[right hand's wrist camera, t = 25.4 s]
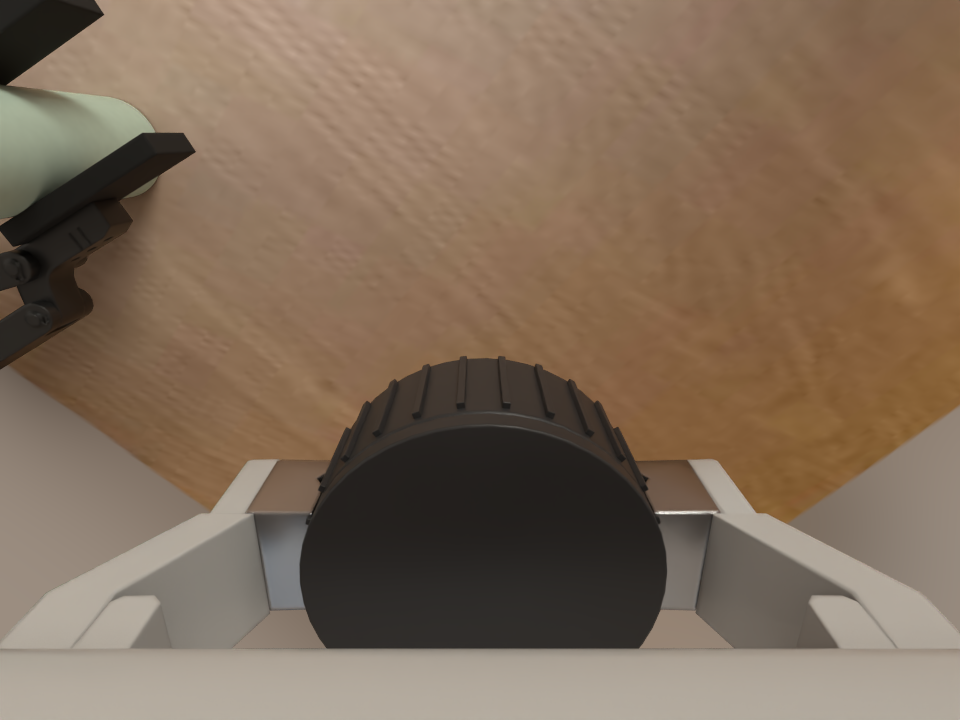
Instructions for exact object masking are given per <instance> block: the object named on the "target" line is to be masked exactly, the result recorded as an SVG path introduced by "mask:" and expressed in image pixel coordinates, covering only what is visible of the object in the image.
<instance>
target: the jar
mask: <svg viewBox="0 0 960 720" xmlns="http://www.w3.org/2000/svg"><path fill="white" fill-rule="evenodd" d="M141 133H155V130H154V129H153V127H152V126H151V124H150V123H149V121H148V120H147V119H146V118H145V117H144V116H143V115H142V114H141V113H140V112H139V111H138V110H137V109H136V108H134V107H133V106H131V105H130V104H128V103H126V102H124V101H122V100H119V99H116V98H112V97H106V96H97V95H88V94H79V93H70V92H61V91H52V90H43V89H34V88H25V87H16V86H7V85H0V219H3V218H9V217H15V216H16V215H18V214H19V213H21V212H22V211H24V210H25V209H27V208H28V207H30V206H31V205H33V204H34V203H36V202H37V201H39V200H40V199H42V198H43V197H45V196H47V195H48V194H50V193H51V192H53V191H54V190H56V189H57V188H59V187H60V186H62V185H63V184H65V183H66V182H68V181H69V180H71V179H72V178H74V177H76V176H77V175H79V174H80V173H82V172H83V171H85V170H86V169H88V168H89V167H91V166H92V165H94V164H95V163H97V162H98V161H100V160H101V159H103V158H104V157H106V156H108V155H109V154H111V153H112V152H114V151H115V150H117V149H118V148H120V147H121V146H123V145H124V144H126V143H127V142H129V141H130V140H132V139H133V138H135V137H137V136H138V135H140V134H141ZM157 178H158V176H157V177H156V178H154V179H152V180H151V181H149V182H148V183H146V184H145V185H143V186H141V187H140V188H138V189H137V190H135V191H134V192H132V193H130V194H129V195H127V196H126V197H124V198H129V197H134V196H137V195H140V194H142V193H144V192H146V191H147V190H148V189H149V188H150V187H151V186H152V185H153V184H154V183H155V181H156V180H157Z"/></svg>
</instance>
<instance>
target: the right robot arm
mask: <svg viewBox="0 0 960 720" xmlns="http://www.w3.org/2000/svg"><path fill="white" fill-rule="evenodd" d="M635 462H636V464H637V466H638V468H639V470H640V472H641V474H642V476H643V478H644V481H645V483H646V485H647V487H648V489H649V490H647V491H645V492H644V494H645V496H646V498H647V501H648V502H649V505H650V507H651V509H652V511H653V513H654V516H655V518H656V517H659V518H660V522H661V523H660V524H658V525H659V528H660V530H661V532H662V536H663V541H664V545H665V549H666V558H667V580H666V590H665V595H664V598H663V602H662V606H661V610H696V614H697V615H699V616H700V617H701V618H702V619H703V620H704V621H705V622H706V623H707V624H708V625H710V626H711V627H712V628H713V629H714V630H715V631H716V632H717V633H718V634H719V635H720V636H722V637H723V638H724V639H725V640H726V641H727V642H728V643H729V644H730V645H731V646H733V647H734V648H735V649H232V648H233V647H234V646H235V645H236V644H237V643H238V642H239V641H240V640H241V639H243V638H244V637H245V636H246V635H247V634H248V633H249V632H250V631H251V630H252V629H253V628H255V627H256V626H257V625H258V624H259V623H260V622H261V621H262V620H263V619H264V618H265V617H267V616H268V615H269V614H270V610H305V606H304V603H303V597H302V592H301V587H300V569H299V563H300V556H301V549H302V543H303V540H304V537H305V534H306V531H307V528H308V525H306V524H305V523H306V519H307V517H310V518H312V515H313V513H314V511H315V509H316V506H317V504H318V502H319V499H320V497H321V495H322V492H320V491H318V488H319V486H320V484H321V481H322V479H323V477H324V475H325V473H326V470H327V468H328V466H329V464H330V460H279V459H257V460H250V461H247V462H246V464H245V465H244V466H243V468H242V469H241V471H240V472H239V473H238V475H237V476H236V478H235V479H234V480H233V482H232V483H231V484H230V486H229V487H228V489H227V490H226V491H225V493H224V494H223V495H222V497H221V498H220V500H219V501H218V502H217V504H216V505H215V507H214V508H213V509H212V511H211V512H210V513H206V514H198V515H196V516H194V517H193V518H191V519H189V520H187V521H185V522H183V523H181V524H179V525H177V526H175V527H173V528H171V529H169V530H167V531H165V532H163V533H161V534H160V535H158V536H156V537H154V538H152V539H150V540H148V541H146V542H144V543H142V544H140V545H138V546H136V547H134V548H132V549H130V550H128V551H126V552H124V553H123V554H121V555H119V556H117V557H115V558H113V559H111V560H109V561H107V562H105V563H103V564H101V565H99V566H97V567H95V568H93V569H91V570H89V571H87V572H86V573H84V574H82V575H80V576H78V577H76V578H74V579H72V580H70V581H68V582H66V583H64V584H62V585H60V586H58V587H56V588H54V589H52V590H51V591H49V592H47V593H45V594H44V595H43V596H42V598H41V599H40V600H39V601H38V602H37V603H36V604H35V605H34V606H33V607H32V608H31V609H30V610H29V611H28V612H27V613H26V614H25V615H24V616H23V617H22V619H21V620H20V621H19V622H18V623H17V624H16V625H15V626H14V627H13V628H12V629H11V630H10V631H9V632H8V633H7V634H6V635H5V636H4V637H3V638H2V639H1V641H0V720H960V632H959V631H958V629H957V628H956V627H955V626H954V625H953V624H952V623H951V622H950V621H949V620H948V619H947V618H946V617H945V616H944V615H943V614H942V613H941V612H940V611H939V610H938V609H937V608H936V607H935V606H934V605H933V604H932V603H931V602H930V600H929V599H928V598H927V597H926V596H925V595H924V594H923V593H921V592H919V591H917V590H915V589H913V588H911V587H909V586H907V585H905V584H903V583H901V582H899V581H897V580H895V579H893V578H891V577H889V576H887V575H885V574H883V573H881V572H879V571H877V570H875V569H874V568H872V567H870V566H868V565H866V564H864V563H862V562H860V561H858V560H856V559H854V558H852V557H850V556H848V555H846V554H844V553H842V552H840V551H838V550H836V549H834V548H832V547H831V546H829V545H826V544H825V543H823V542H821V541H819V540H817V539H815V538H813V537H811V536H809V535H807V534H805V533H803V532H801V531H799V530H797V529H795V528H793V527H791V526H789V525H787V524H785V523H784V522H782V521H780V520H778V519H776V518H774V517H772V516H770V515H768V514H761V513H756V512H755V511H754V509H753V508H752V507H751V505H750V504H749V503H748V501H747V500H746V499H745V497H744V496H743V494H742V493H741V492H740V490H739V489H738V488H737V486H736V485H735V484H734V482H733V481H732V480H731V478H730V477H729V476H728V474H727V473H726V472H725V470H724V469H723V468H722V466H721V465H720V464H719V462H718V461H716V460H714V459H697V460H660V461H635Z"/></svg>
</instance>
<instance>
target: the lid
mask: <svg viewBox="0 0 960 720" xmlns="http://www.w3.org/2000/svg"><path fill="white" fill-rule="evenodd" d="M647 490H649V489H648V487H647V485H646V483H645V481H644V478H643V476H642V474H641V472H640V470H639V468H638V466H637V464H636V462H635V460H634V458H633V456H632V454H631V452H630V450H629V448H628V446H627V443H626V441H625V439H624V437H623V435H622V433H621V431H620V429H619V427H616V428H614V429H613V427H612V425H611V424H610V422H609V420H608V418H607V415H606V413H605V411H604V409H603V407H602V405H601V403H600V402H599V401H596V402H595V403H594V402H593V401H592V400H591V399H589V398H588V397H587V396H586V395H585V394H584V393H583V392H582V391H580V390H579V389H577V386H576V384H575V382H574V381H573V380H571V379H569V380H568V382H567V381H566V380H564V379H562V378H560V377H558V376H556V375H554V374H552V373H550V372H548V371H545V370H543V367H542V365H539V364H536V365H535V367H534V366H531V365H528V364H524V363H519V362H514V361H510V360H505V357H503V356H499V357H498V359H489V358H483V359H467V356H463V357H460V360H457V361H451V362H445V363H442V364H438V365H435V366H431V367H430V365H429V364H427V365H424V366H423V368H422V370H420V371H418V372H416V373H413V374H411V375H409V376H407V377H405V378H403V379H402V380H400V381H398V382H397V381H396V380H395V379H394V380H393V381H391V382H390V384H389V387H388V389H386V390H385V391H384V392H383V393H381V394H380V395H379V396H378V397H376V398H375V399H374V400H373V401H372V402H371V403H369V402H368V401H366V402H365V403H364V404H363V407H362V409H361V411H360V414H359V416H358V418H357V420H356V422H355V423H354V425H353V426H352V428H351V429H349V428H347V427H346V429H345V431H344V433H343V435H342V437H341V439H340V442H339V444H338V446H337V448H336V450H335V453H334V455H333V457H332V459H331V461H330V464H329V466H328V468H327V470H326V473H325V475H324V477H323V479H322V481H321V484H320V486H319V488H318V491H320V492H322V495H321V497H320V499H319V502H318V504H317V506H316V509H315V511H314V513H313V515H312V518H310V517H307V519H306V523H305V524H306V525H308V528H307V531H306V534H305V537H304V540H303V543H302V549H301V556H300V563H299V569H300V587H301V592H302V597H303V603H304V606H305V609H306V611H307V614H308V617H309V620H310V622H311V624H312V626H313V628H314V630H315V631H316V633H317V635H318V637H319V639H320V640H321V641H322V643H323V644H324V645H325V647H326V648H327V649H639V648H640V646H641V645H642V644H643V642H644V641H645V639H646V637H647V636H648V634H649V633H650V631H651V630H652V628H653V626H654V623H655V621H656V619H657V617H658V614H659V612H660V610H661V606H662V602H663V598H664V595H665V590H666V580H667V558H666V549H665V545H664V541H663V536H662V532H661V530H660V528H659V525H658V524H660V523H661V522H660V518H659V517H656V518H655V516H654V513H653V511H652V509H651V507H650V505H649V502H648V501H647V498H646V496H645V494H644V492H645V491H647Z"/></svg>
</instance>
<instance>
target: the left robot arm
mask: <svg viewBox="0 0 960 720" xmlns="http://www.w3.org/2000/svg"><path fill="white" fill-rule="evenodd" d="M103 15H104V14H103V12H102V11H101V9H100V8H99V6H98V5H97V3H96V2H95V0H0V85H7V84H8V83H10V82H11V81H12V80H14V79H15V78H17V77H18V76H19V75H21V74H22V73H24V72H25V71H26V70H28V69H29V68H31V67H32V66H33V65H35V64H36V63H38V62H39V61H40V60H42V59H43V58H45V57H46V56H47V55H49V54H50V53H52V52H53V51H54V50H56V49H57V48H58V47H60V46H61V45H63V44H64V43H65V42H67V41H68V40H70V39H71V38H72V37H74V36H75V35H77V34H78V33H79V32H81V31H82V30H84V29H85V28H86V27H88V26H89V25H91V24H92V23H93V22H95V21H96V20H98V19H99V18H100V17H102V16H103ZM195 152H196V151H195V150H194V148H193V147H192V145H191V144H190V142H189V141H188V139H187V138H186V136H185V135H184V133H141V134H140V135H138V136H137V137H135V138H133V139H132V140H130V141H129V142H127V143H126V144H124V145H123V146H121V147H120V148H118V149H117V150H115V151H114V152H112V153H111V154H109V155H108V156H106V157H104V158H103V159H101V160H100V161H98V162H97V163H95V164H94V165H92V166H91V167H89V168H88V169H86V170H85V171H83V172H82V173H80V174H79V175H77V176H76V177H74V178H72V179H71V180H69V181H68V182H66V183H65V184H63V185H62V186H60V187H59V188H57V189H56V190H54V191H53V192H51V193H50V194H48V195H47V196H45V197H43V198H42V199H40V200H39V201H37V202H36V203H34V204H33V205H31V206H30V207H28V208H27V209H25V210H24V211H22V212H21V213H19V214H18V215H16V216H15V217H13V218H11V219H10V220H8V221H7V222H5V223H4V224H2V225H1V226H0V231H1V233H2V234H3V235H4V236H5V237H6V239H7V240H8V241H9V242H10V244H11V245H12V246H13V247H14V246H19V245H21V246H20V247H18V248H16V249H15V250H12V251H8V252H4V253H1V254H0V291H2V290H5V289H9V288H12V287H15V286H17V288H18V291H19V293H20V295H21V298H22V300H23V302H24V304H25V305H24V306H22V307H20V308H19V309H17V310H16V311H14V312H13V313H11V314H10V315H8V316H7V317H5V318H4V319H2V320H0V369H2V368H3V367H5V366H7V365H8V364H10V363H11V362H13V361H15V360H16V359H18V358H19V357H21V356H23V355H24V354H26V353H27V352H29V351H31V350H32V349H34V348H35V347H37V346H39V345H40V344H42V343H43V342H45V341H47V340H48V339H50V338H51V337H53V336H55V335H56V334H58V333H59V332H61V331H63V330H64V329H66V328H67V327H69V326H71V325H72V324H74V323H75V322H77V321H79V320H80V319H82V318H83V317H85V316H87V315H88V314H89V313H90V312H91V311H92V309H93V301H92V299H91V297H90V295H89V294H88V293H87V292H86V291H84V290H82V289H80V288H78V286H77V284H76V281H75V278H74V268H76V267H79V266H81V265H83V264H84V263H85V262H86V260H87V256H88V255H89V254H91V253H93V252H94V251H96V250H98V249H99V248H101V247H102V246H104V245H106V244H107V243H109V242H110V241H112V240H114V239H115V238H117V237H119V236H120V235H122V234H123V233H125V232H126V231H127V230H128V228H129V226H130V225H131V223H132V221H133V220H132V219H131V217H130V216H129V215H128V213H127V212H126V211H125V209H124V208H123V206H122V205H121V204H120V202H119V200H121V199H123V198H124V197H126V196H127V195H129V194H130V193H132V192H134V191H135V190H137V189H138V188H140V187H141V186H143V185H145V184H146V183H148V182H149V181H151V180H152V179H154V178H156V177H157V176H159V175H160V174H162V173H164V172H165V171H167V170H168V169H170V168H171V167H173V166H175V165H176V164H178V163H179V162H181V161H182V160H184V159H186V158H187V157H189V156H190V155H192V154H193V153H195Z"/></svg>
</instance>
